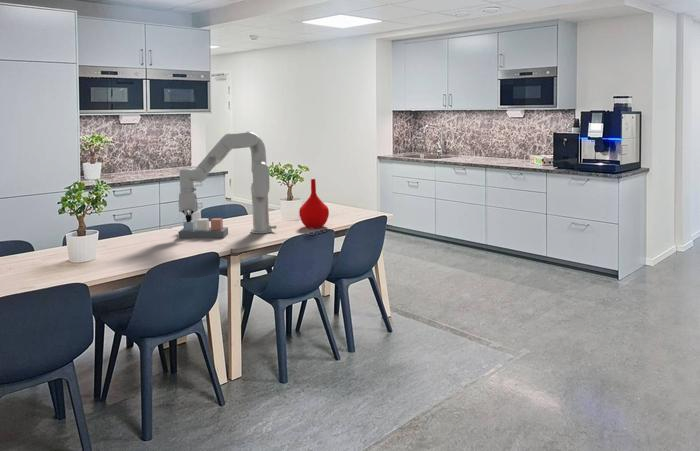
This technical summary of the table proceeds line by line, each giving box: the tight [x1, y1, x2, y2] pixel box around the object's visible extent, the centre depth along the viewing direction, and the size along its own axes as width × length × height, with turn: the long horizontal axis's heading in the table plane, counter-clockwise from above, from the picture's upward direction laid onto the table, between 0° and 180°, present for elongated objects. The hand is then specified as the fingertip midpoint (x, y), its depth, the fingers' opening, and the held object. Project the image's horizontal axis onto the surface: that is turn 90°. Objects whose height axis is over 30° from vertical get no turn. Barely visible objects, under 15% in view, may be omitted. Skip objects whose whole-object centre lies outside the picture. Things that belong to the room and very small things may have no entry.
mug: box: [183, 210, 202, 228], centre depth 370 cm, size 12×8×12 cm
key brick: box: [210, 217, 224, 230], centre depth 354 cm, size 6×6×6 cm
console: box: [177, 226, 229, 240], centre depth 355 cm, size 26×12×4 cm, turn 89°
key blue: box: [182, 220, 196, 231], centre depth 355 cm, size 6×6×6 cm
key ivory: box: [197, 217, 210, 231], centre depth 354 cm, size 6×6×6 cm
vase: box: [298, 178, 330, 229], centre depth 376 cm, size 18×18×30 cm
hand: (188, 221), depth 354 cm, fingers closed
